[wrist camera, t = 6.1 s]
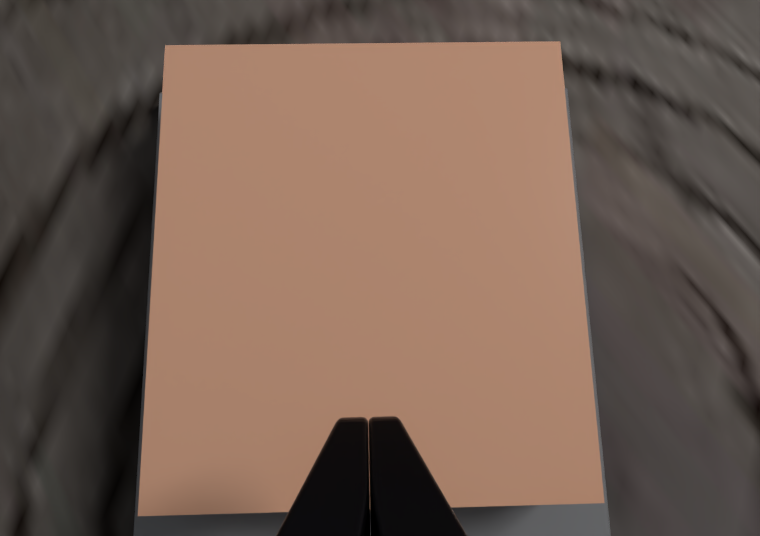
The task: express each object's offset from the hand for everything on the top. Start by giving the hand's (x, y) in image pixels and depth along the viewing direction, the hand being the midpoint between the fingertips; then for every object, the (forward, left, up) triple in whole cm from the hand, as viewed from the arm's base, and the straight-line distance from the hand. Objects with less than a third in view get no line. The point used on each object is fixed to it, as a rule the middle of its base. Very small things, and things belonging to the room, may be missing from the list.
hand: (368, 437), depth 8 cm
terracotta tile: (-1, -1, -5) cm, 5 cm away
